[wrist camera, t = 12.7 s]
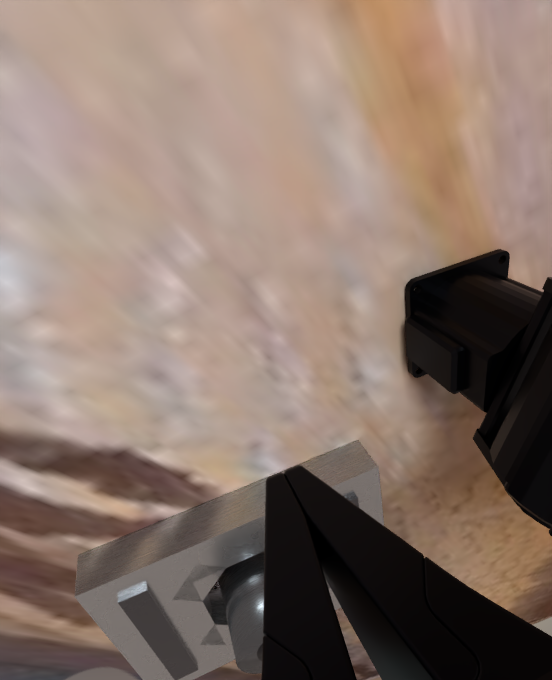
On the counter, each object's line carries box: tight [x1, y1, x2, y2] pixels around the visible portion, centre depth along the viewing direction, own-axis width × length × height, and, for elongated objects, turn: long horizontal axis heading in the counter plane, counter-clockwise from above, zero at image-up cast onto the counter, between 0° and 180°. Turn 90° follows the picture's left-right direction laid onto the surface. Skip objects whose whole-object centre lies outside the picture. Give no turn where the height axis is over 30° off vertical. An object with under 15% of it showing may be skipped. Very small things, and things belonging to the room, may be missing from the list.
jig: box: [75, 440, 384, 680], centre depth 28 cm, size 18×13×3 cm
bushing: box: [218, 551, 265, 674], centre depth 27 cm, size 5×5×6 cm
